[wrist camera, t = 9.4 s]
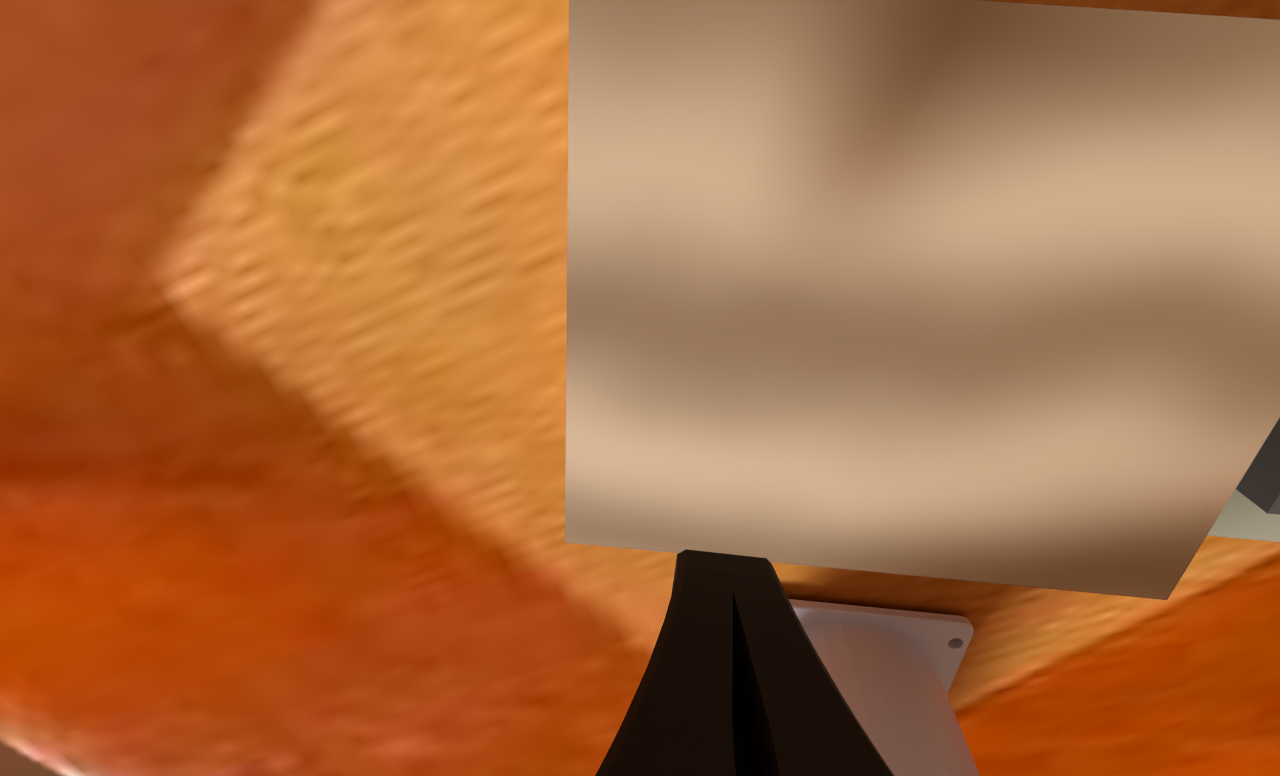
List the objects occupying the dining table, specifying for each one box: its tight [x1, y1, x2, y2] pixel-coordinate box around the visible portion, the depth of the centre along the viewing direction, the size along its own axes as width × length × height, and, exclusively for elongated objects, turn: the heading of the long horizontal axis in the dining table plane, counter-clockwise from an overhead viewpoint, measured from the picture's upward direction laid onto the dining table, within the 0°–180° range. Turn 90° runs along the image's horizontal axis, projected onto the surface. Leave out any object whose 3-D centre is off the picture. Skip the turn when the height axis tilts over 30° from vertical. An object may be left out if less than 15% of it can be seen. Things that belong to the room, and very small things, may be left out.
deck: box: [565, 0, 1280, 600], centre depth 16 cm, size 13×16×4 cm
